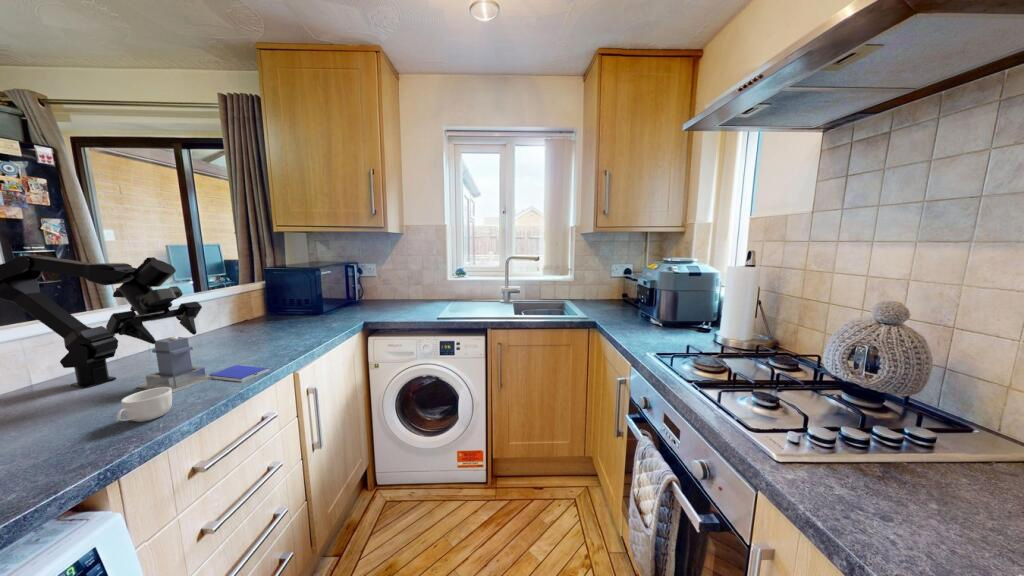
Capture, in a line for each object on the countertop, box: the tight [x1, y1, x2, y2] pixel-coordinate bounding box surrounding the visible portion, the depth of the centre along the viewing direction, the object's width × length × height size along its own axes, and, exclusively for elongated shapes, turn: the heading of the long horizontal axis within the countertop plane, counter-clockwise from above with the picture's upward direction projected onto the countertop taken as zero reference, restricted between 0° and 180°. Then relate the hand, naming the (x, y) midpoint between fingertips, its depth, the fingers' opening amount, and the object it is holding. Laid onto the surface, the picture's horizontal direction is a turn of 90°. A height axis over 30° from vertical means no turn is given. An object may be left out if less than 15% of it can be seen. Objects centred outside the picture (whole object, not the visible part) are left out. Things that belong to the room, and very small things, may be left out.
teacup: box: [116, 387, 173, 423], centre depth 74 cm, size 10×8×5 cm
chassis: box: [137, 365, 214, 394], centre depth 95 cm, size 14×10×3 cm
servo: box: [151, 335, 194, 377], centre depth 94 cm, size 8×4×13 cm, turn 75°
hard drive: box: [209, 364, 269, 382], centre depth 100 cm, size 2×8×12 cm
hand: (175, 338), depth 93 cm, fingers open, 9 cm apart
